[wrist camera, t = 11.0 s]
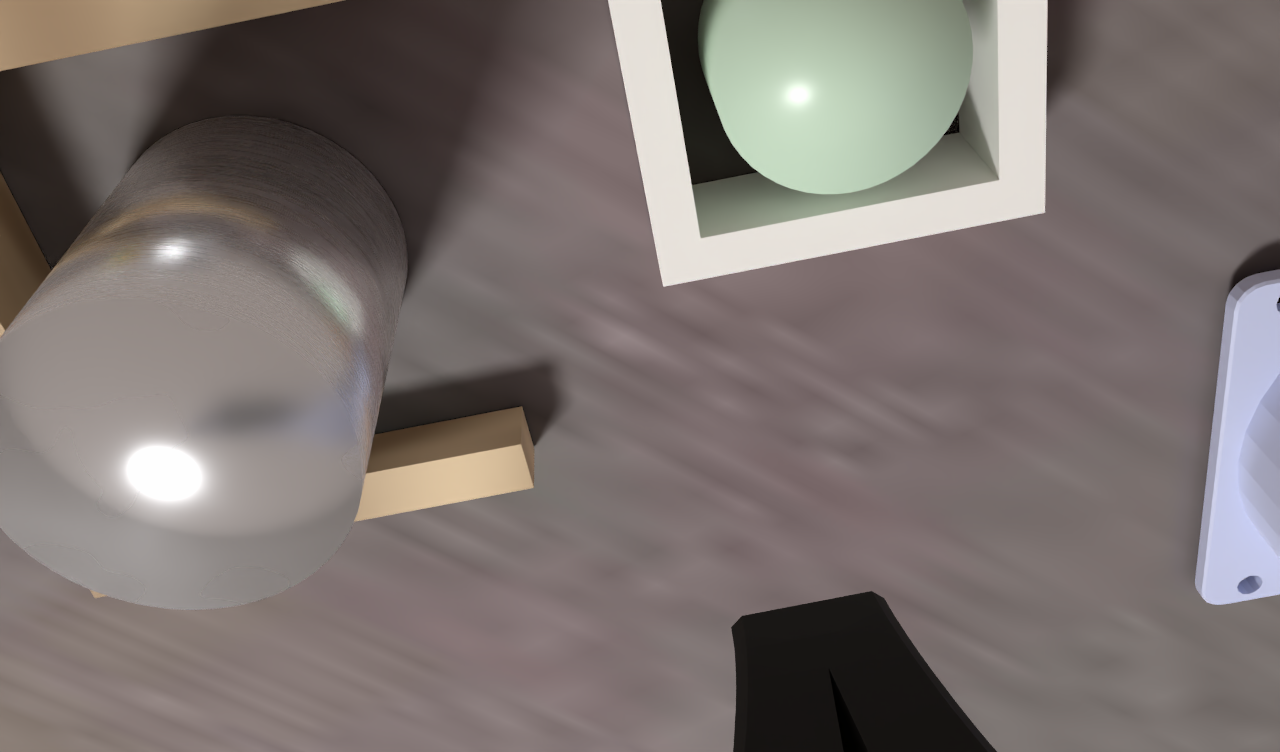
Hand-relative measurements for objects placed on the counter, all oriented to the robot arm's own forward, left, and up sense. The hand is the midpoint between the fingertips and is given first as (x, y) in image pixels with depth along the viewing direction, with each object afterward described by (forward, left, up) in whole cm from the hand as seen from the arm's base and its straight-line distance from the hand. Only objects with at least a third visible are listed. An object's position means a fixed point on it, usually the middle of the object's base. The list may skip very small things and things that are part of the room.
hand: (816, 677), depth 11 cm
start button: (-2, -3, -10) cm, 11 cm away
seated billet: (+7, -1, -10) cm, 13 cm away
